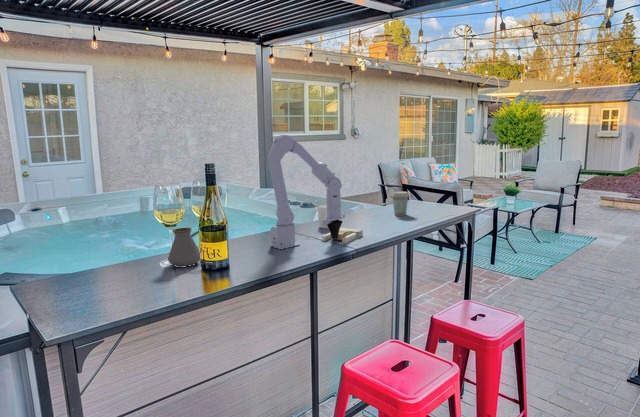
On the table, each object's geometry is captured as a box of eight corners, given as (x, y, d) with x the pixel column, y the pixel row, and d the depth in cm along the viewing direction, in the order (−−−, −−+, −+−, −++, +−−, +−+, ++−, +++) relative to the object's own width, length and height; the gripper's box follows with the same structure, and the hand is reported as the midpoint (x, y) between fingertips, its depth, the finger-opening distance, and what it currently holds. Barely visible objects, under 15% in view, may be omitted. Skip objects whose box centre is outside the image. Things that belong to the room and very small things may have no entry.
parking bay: (346, 243, 172) (346, 237, 172) (321, 240, 178) (321, 234, 178) (362, 235, 184) (362, 229, 184) (338, 232, 190) (338, 227, 190)
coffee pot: (175, 272, 145) (170, 229, 142) (164, 264, 154) (159, 223, 151) (232, 258, 158) (229, 219, 155) (219, 252, 167) (216, 214, 164)
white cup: (315, 228, 201) (314, 207, 199) (322, 224, 208) (322, 204, 206) (330, 229, 198) (329, 208, 196) (337, 225, 204) (336, 205, 203)
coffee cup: (388, 214, 226) (388, 192, 223) (402, 212, 229) (402, 190, 227) (398, 217, 218) (398, 194, 216) (411, 215, 222) (412, 192, 219)
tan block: (341, 241, 176) (341, 234, 175) (330, 240, 178) (330, 233, 178) (349, 237, 181) (349, 230, 181) (339, 236, 184) (338, 229, 184)
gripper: (333, 209, 165) (334, 243, 168) (350, 203, 177) (351, 235, 180) (317, 208, 169) (319, 241, 171) (336, 202, 181) (337, 233, 183)
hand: (334, 238), depth 176 cm, fingers closed
